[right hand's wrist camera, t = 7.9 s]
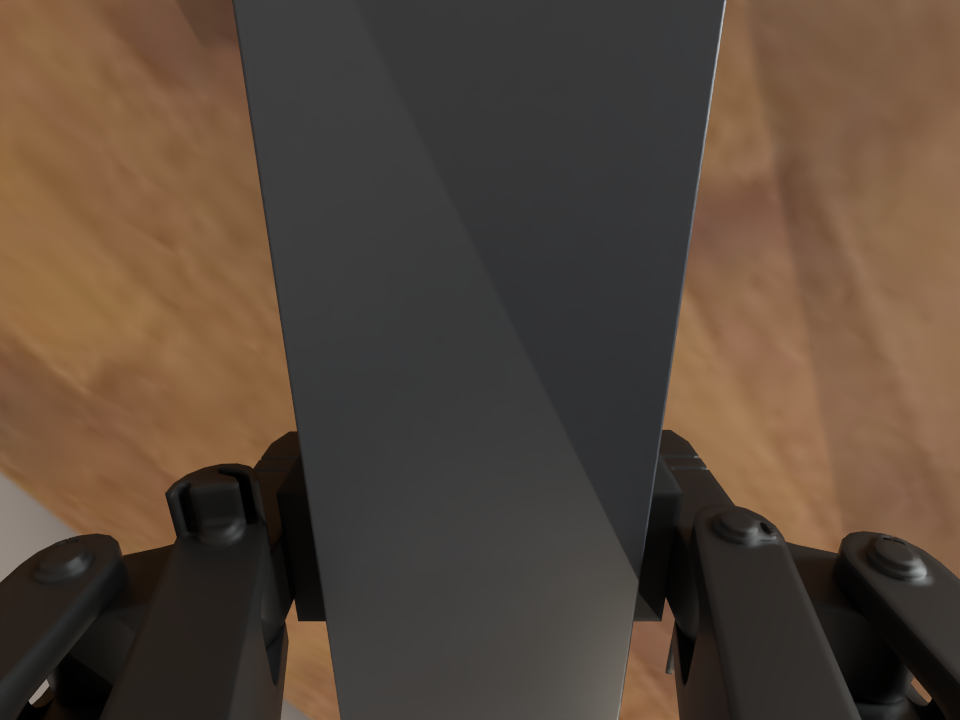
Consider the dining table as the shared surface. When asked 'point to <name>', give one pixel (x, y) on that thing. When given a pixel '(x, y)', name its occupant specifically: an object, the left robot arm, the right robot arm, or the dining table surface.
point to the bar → (479, 326)
